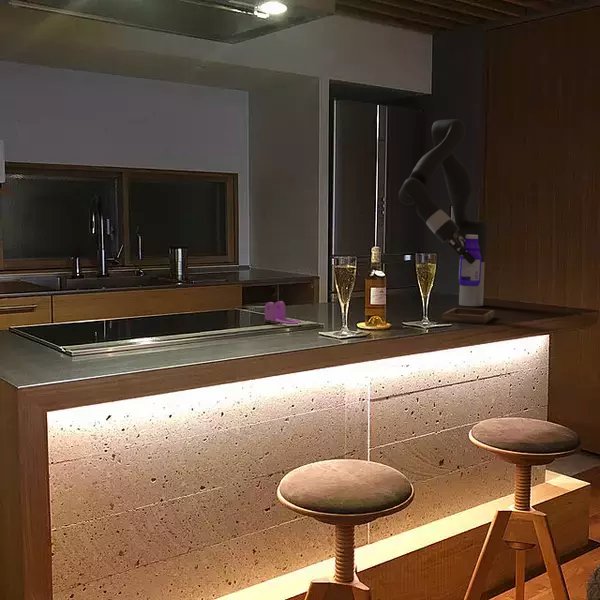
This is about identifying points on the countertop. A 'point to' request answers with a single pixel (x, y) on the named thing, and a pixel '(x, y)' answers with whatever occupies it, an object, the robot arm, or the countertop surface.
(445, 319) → the walnut tray
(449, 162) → the robot arm
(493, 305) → the countertop surface
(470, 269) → the bottle
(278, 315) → the bracket
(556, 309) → the countertop surface
